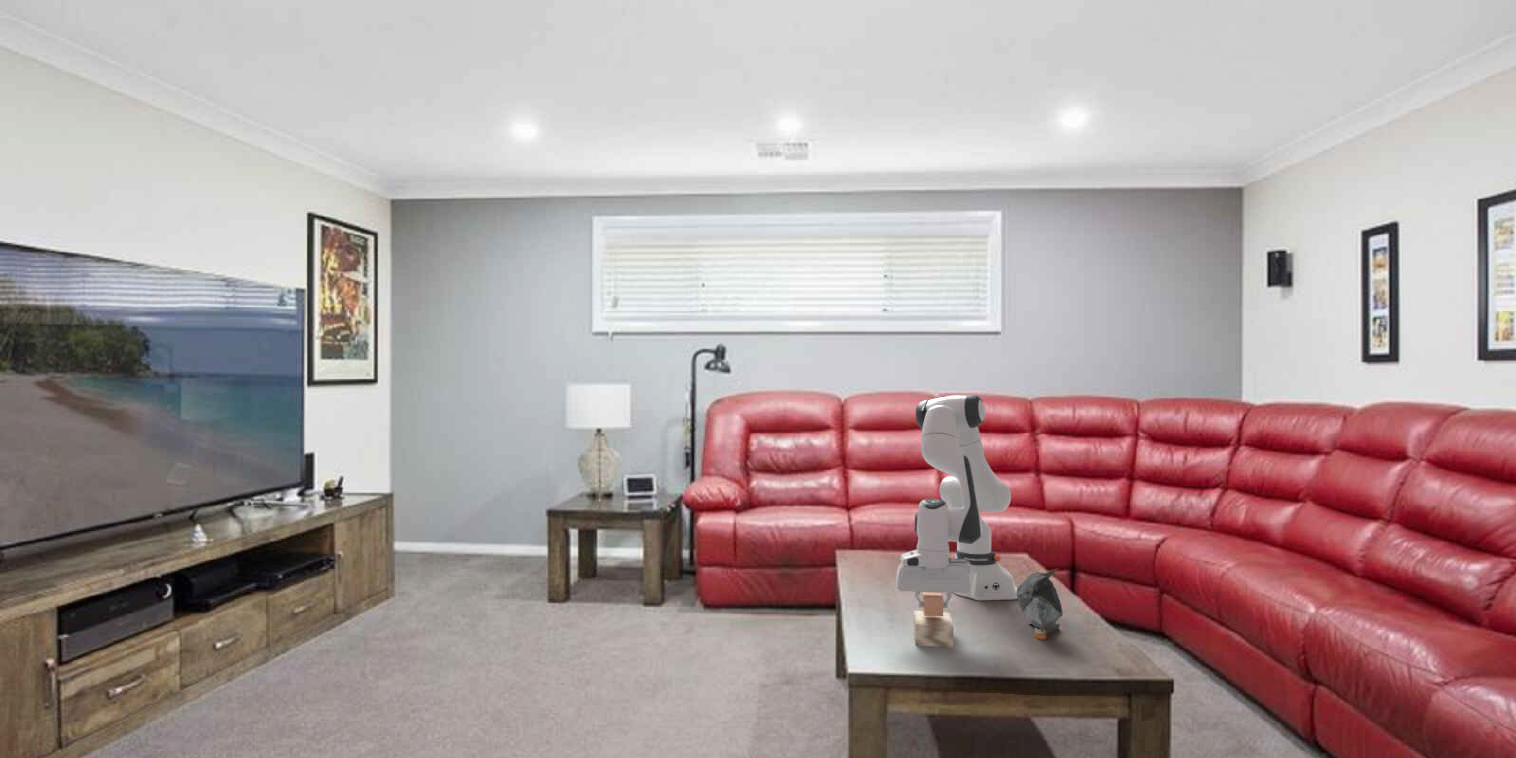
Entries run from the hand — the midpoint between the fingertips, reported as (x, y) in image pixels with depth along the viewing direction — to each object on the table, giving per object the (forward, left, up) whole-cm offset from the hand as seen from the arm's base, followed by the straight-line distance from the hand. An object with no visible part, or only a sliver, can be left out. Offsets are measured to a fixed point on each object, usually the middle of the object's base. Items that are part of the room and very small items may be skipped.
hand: (932, 607), depth 213 cm
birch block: (0, 0, -9) cm, 9 cm away
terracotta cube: (0, 0, -2) cm, 2 cm away
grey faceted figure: (-31, -6, -9) cm, 33 cm away
